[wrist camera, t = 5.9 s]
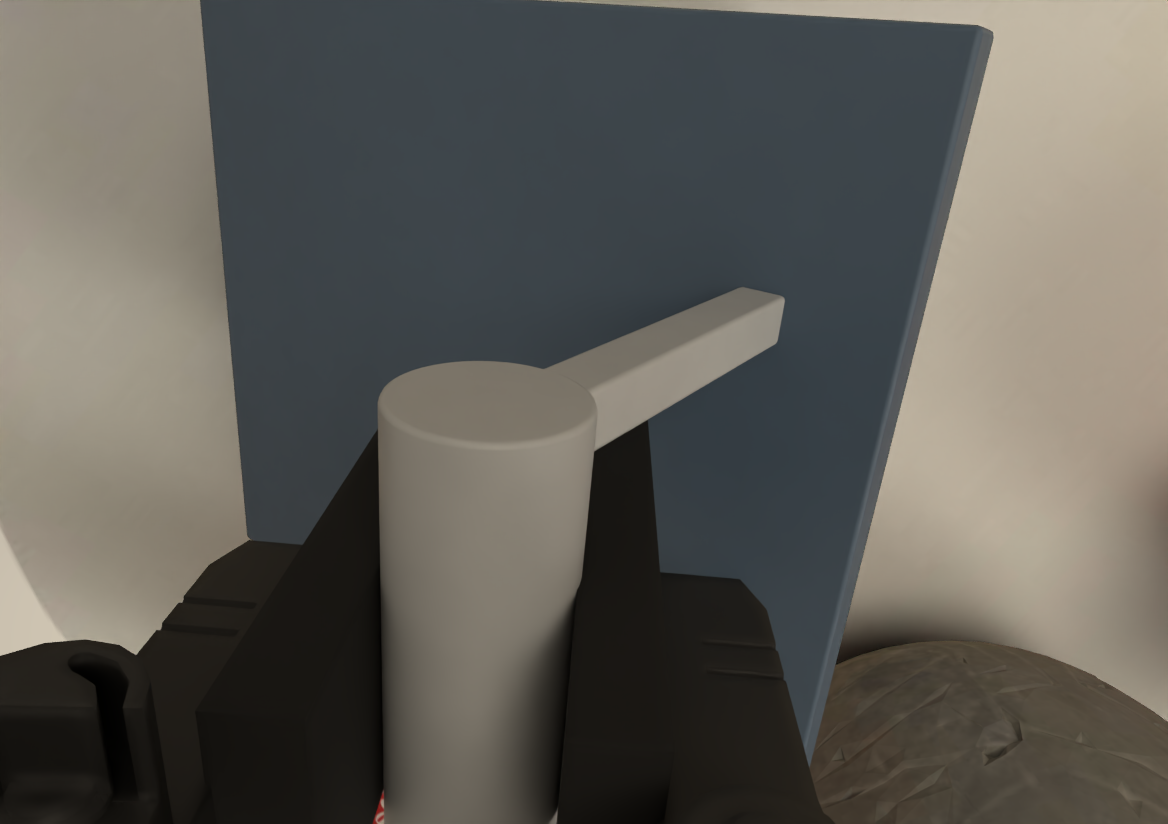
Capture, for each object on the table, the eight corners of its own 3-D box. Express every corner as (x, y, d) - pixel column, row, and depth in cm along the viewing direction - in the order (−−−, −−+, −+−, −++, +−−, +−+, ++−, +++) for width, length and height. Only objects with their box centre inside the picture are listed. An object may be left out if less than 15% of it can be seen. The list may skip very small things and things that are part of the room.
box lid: (997, 30, 10) (722, -84, 4) (799, 808, 15) (547, 1279, 9) (232, -15, 17) (-282, -80, 11) (272, 525, 22) (-66, 682, 16)
